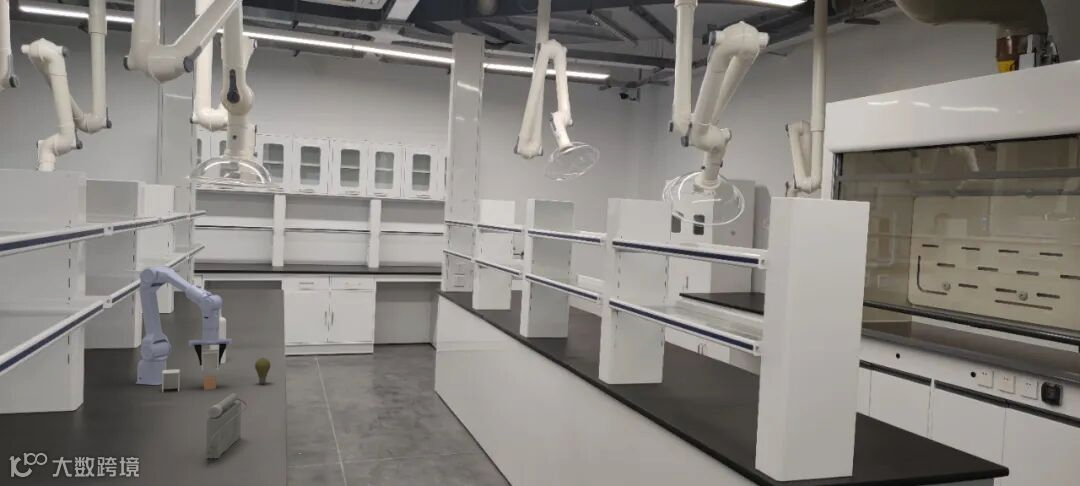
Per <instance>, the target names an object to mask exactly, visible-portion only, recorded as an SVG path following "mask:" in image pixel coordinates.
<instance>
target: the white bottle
mask: <svg viewBox="0 0 1080 486" xmlns="http://www.w3.org/2000/svg"><path fill="white" fill-rule="evenodd" d="M222 308H223V307H222ZM222 308H221V309H219V339H227V319H226V318H225V317H223V315H222ZM210 344H211V343H210ZM213 349H218V350H219V345H209V350H213ZM226 353H227V348H226V349H225V351H224V353H223V355H222V358H221V363H220V365H221V364H225V363H226V362H227V361H226V359H227V354H226Z"/></svg>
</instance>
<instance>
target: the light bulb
mask: <svg viewBox="0 0 1080 486" xmlns="http://www.w3.org/2000/svg"><path fill="white" fill-rule="evenodd" d="M254 368H255V371H256V373H257V377H258V383H259V384H261V385H264V384H265V383H267V382H266V381H267V380H266V379H267V376H268V373H269V371H270V369H271V362H270V360H269V359H268V358H265V357H261V358H259V359H257V360H256V362H255V363H254Z"/></svg>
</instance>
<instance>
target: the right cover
mask: <svg viewBox="0 0 1080 486" xmlns="http://www.w3.org/2000/svg"><path fill="white" fill-rule="evenodd" d="M204 369H216V371H219V350H218V349H213V350H210V349H202V365H201V372H204Z"/></svg>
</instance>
